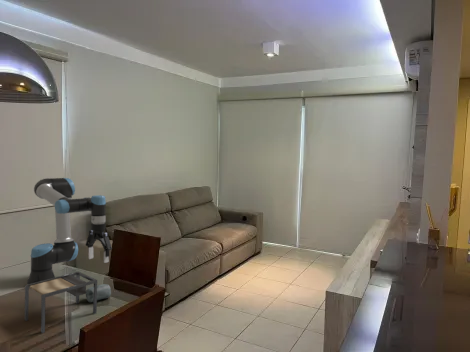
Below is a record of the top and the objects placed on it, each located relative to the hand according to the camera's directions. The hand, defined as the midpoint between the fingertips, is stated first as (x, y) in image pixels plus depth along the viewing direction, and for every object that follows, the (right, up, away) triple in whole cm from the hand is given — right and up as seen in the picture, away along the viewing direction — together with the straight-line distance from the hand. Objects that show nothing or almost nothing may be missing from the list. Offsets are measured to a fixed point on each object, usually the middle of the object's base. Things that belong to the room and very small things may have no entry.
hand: (98, 260), depth 198 cm
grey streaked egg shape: (0, -22, 0) cm, 22 cm away
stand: (-10, -23, -22) cm, 33 cm away
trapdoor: (-11, -12, -24) cm, 29 cm away
